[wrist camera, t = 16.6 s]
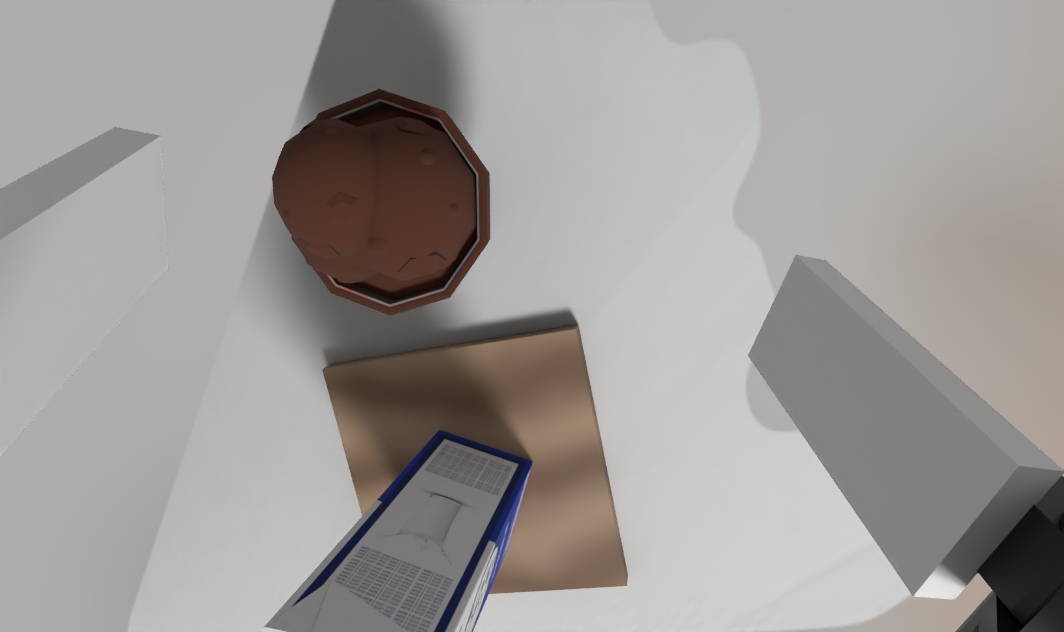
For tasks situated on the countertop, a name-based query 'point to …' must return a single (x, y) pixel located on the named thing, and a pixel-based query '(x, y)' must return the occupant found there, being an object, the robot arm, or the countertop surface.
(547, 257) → the countertop surface
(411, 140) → the ice cream bowl
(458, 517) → the milk carton
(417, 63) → the countertop surface
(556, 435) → the walnut board
